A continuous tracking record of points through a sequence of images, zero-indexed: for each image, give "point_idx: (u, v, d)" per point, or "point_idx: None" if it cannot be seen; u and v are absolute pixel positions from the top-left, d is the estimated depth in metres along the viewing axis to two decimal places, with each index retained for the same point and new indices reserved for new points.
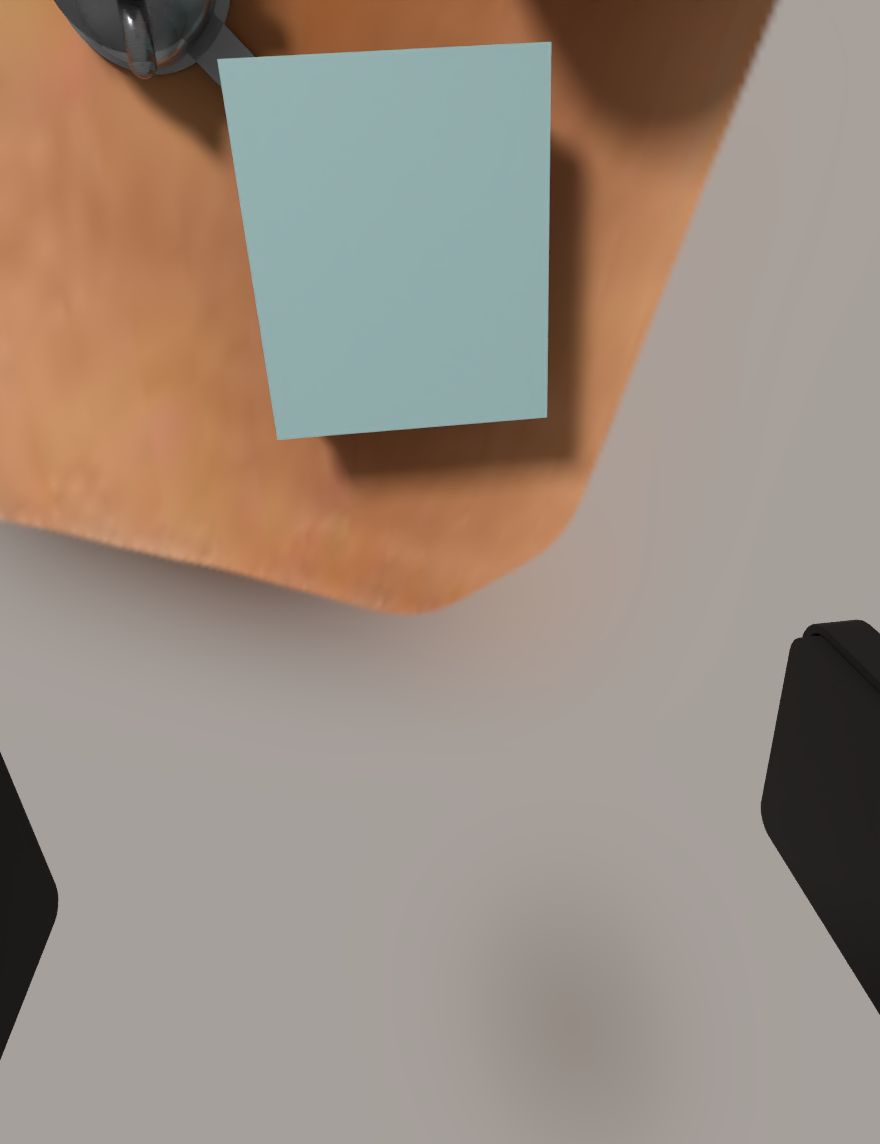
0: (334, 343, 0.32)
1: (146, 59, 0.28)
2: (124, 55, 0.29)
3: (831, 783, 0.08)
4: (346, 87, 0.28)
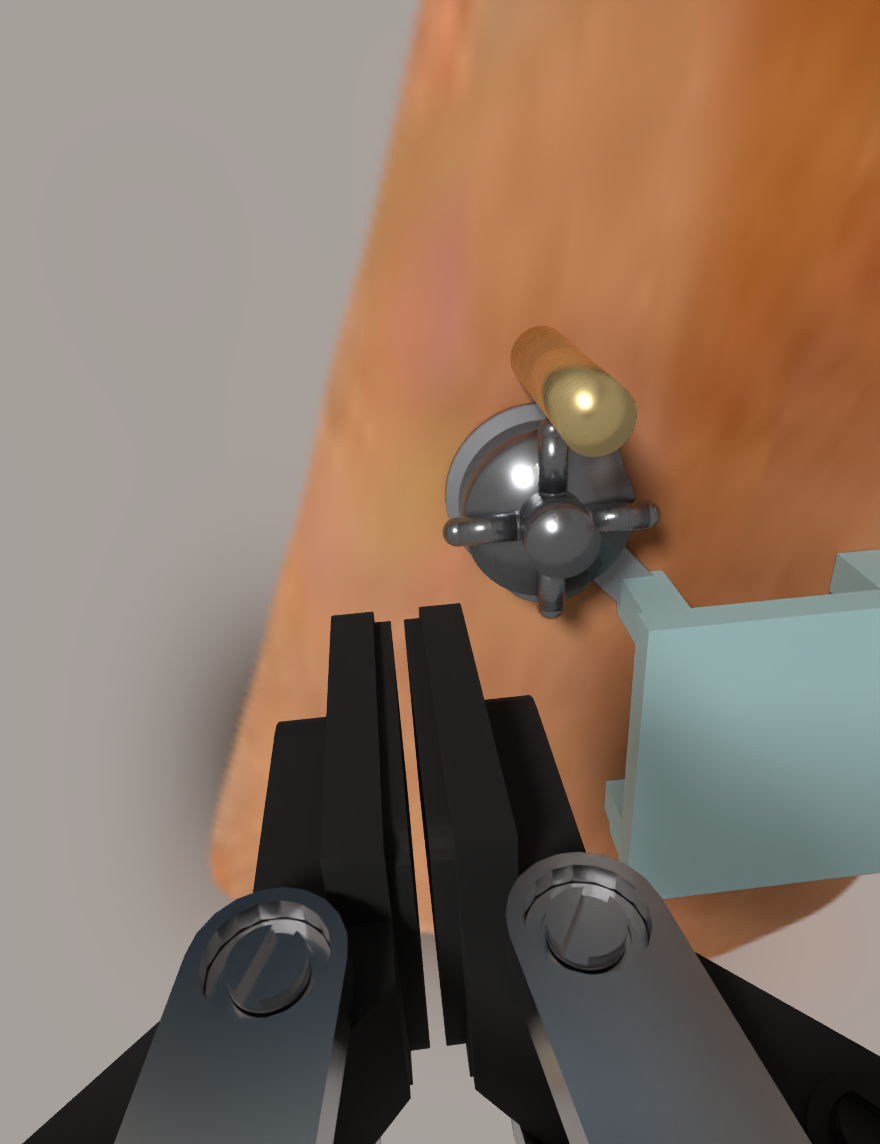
0: (701, 830, 0.32)
1: (560, 609, 0.28)
2: (532, 597, 0.28)
3: None
4: (768, 643, 0.28)
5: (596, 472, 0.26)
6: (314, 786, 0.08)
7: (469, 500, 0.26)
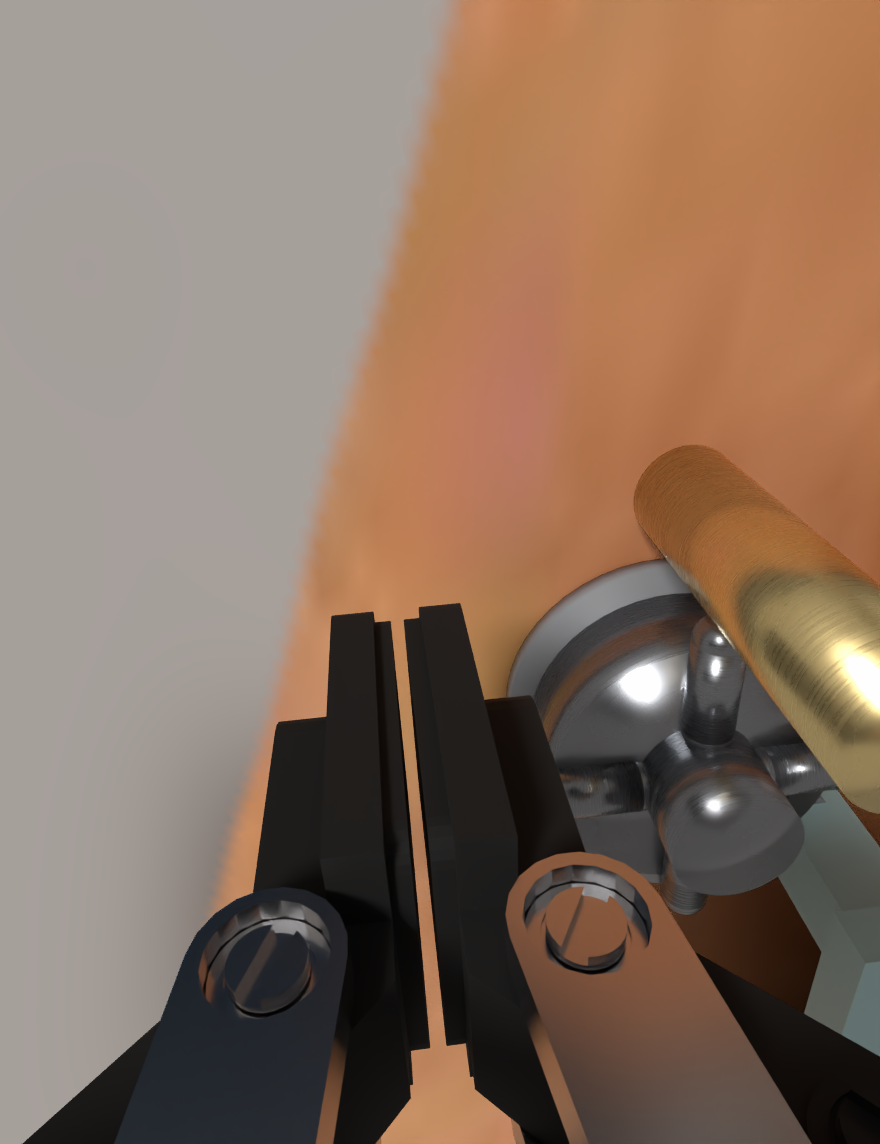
0: None
1: (702, 903, 0.17)
2: (652, 877, 0.17)
3: None
4: None
5: None
6: (313, 785, 0.08)
7: (559, 745, 0.15)
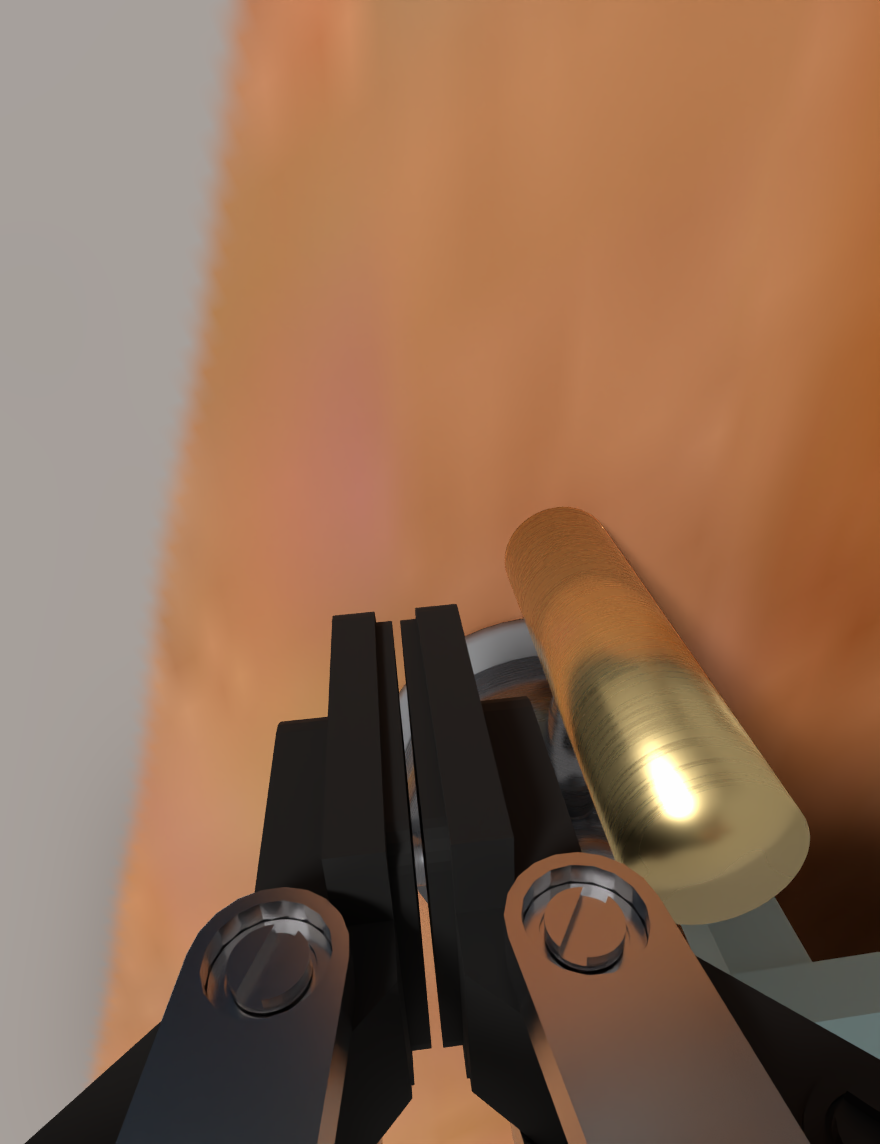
0: None
1: None
2: None
3: (413, 752, 0.09)
4: None
5: None
6: (315, 786, 0.08)
7: (416, 808, 0.14)
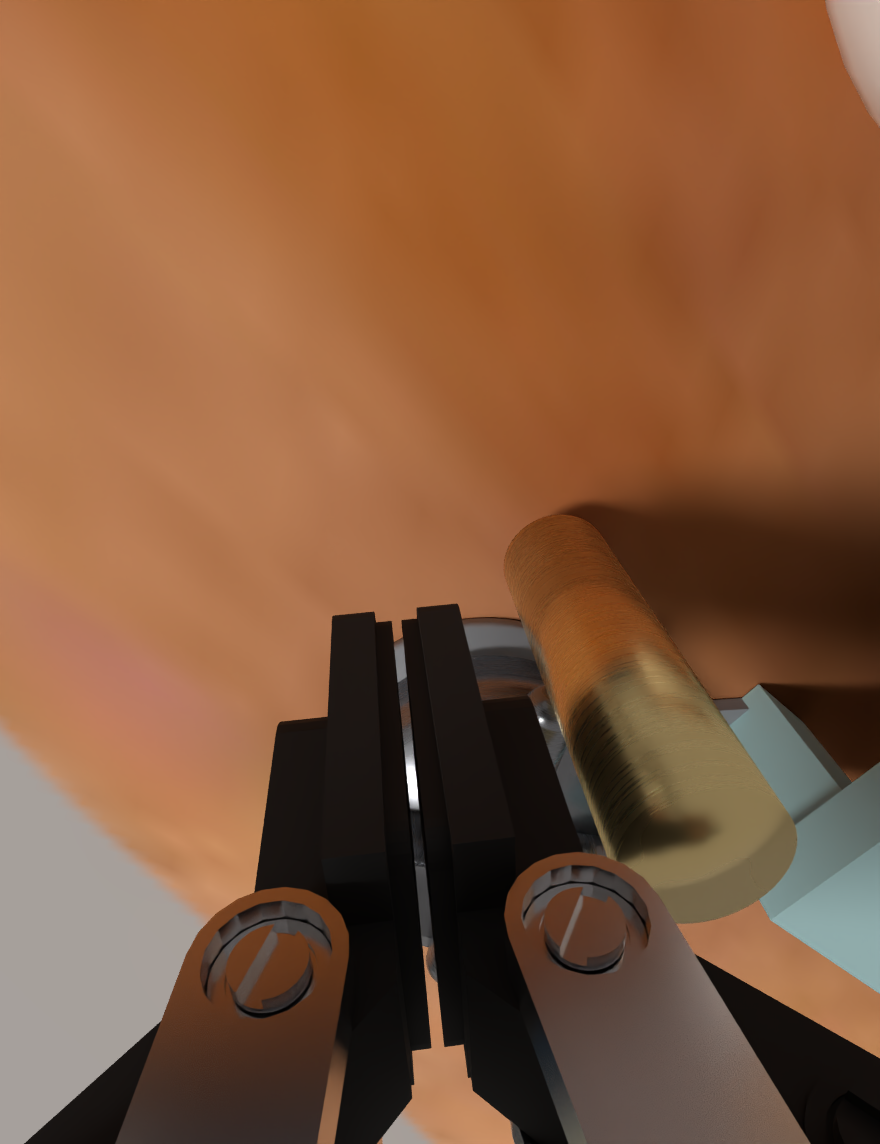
0: None
1: None
2: (422, 939, 0.16)
3: (414, 752, 0.09)
4: None
5: None
6: (315, 786, 0.08)
7: None
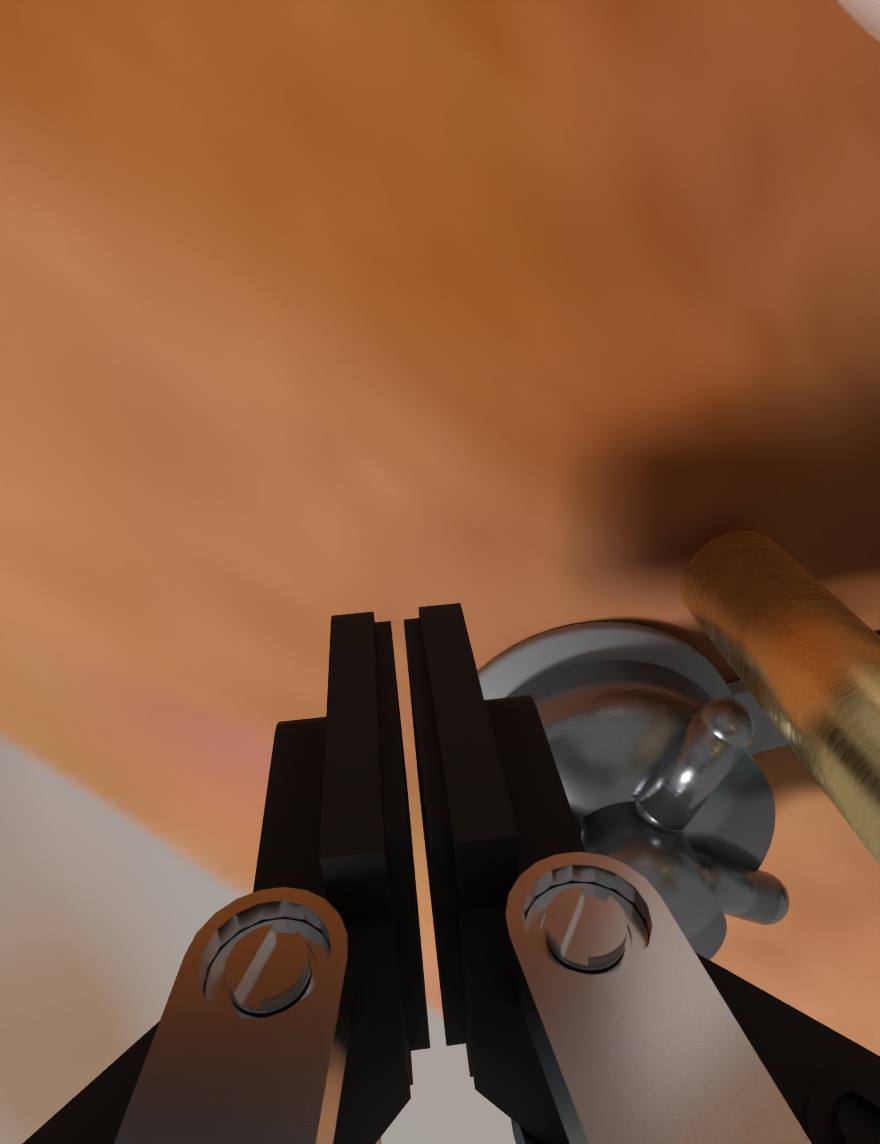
0: None
1: None
2: None
3: None
4: None
5: (734, 808, 0.15)
6: (314, 786, 0.08)
7: None
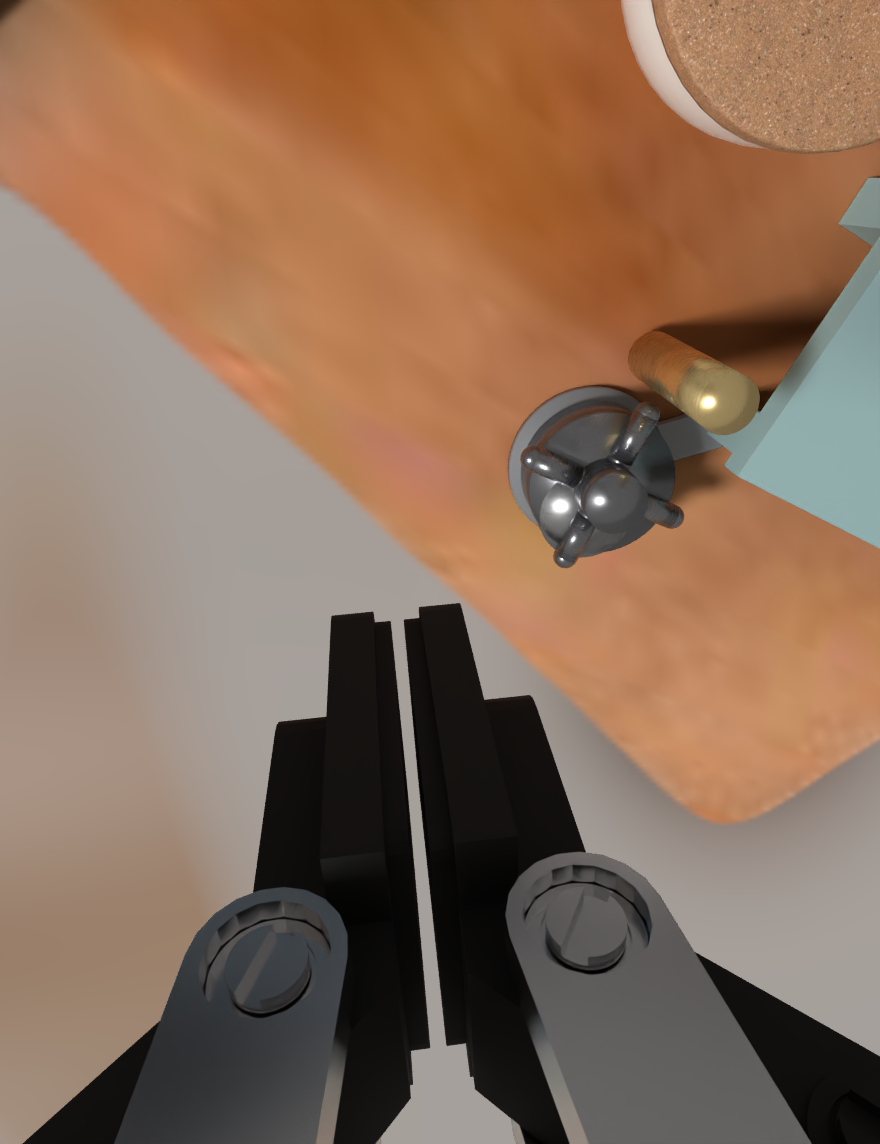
0: None
1: (573, 561, 0.32)
2: (554, 543, 0.32)
3: (417, 750, 0.09)
4: (832, 382, 0.28)
5: (655, 464, 0.31)
6: (313, 786, 0.08)
7: (554, 438, 0.30)
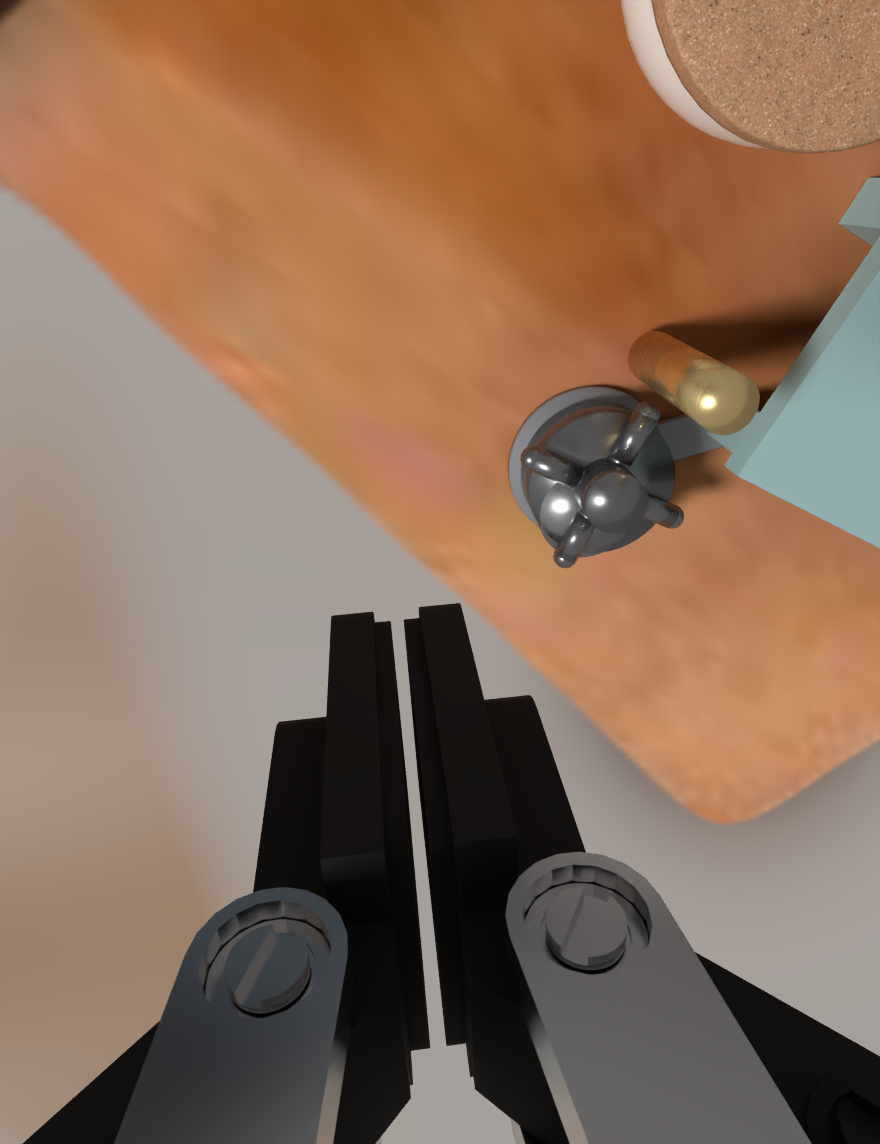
0: None
1: (573, 561, 0.32)
2: (554, 543, 0.32)
3: None
4: (832, 382, 0.28)
5: (655, 464, 0.31)
6: (313, 786, 0.08)
7: (554, 437, 0.30)
